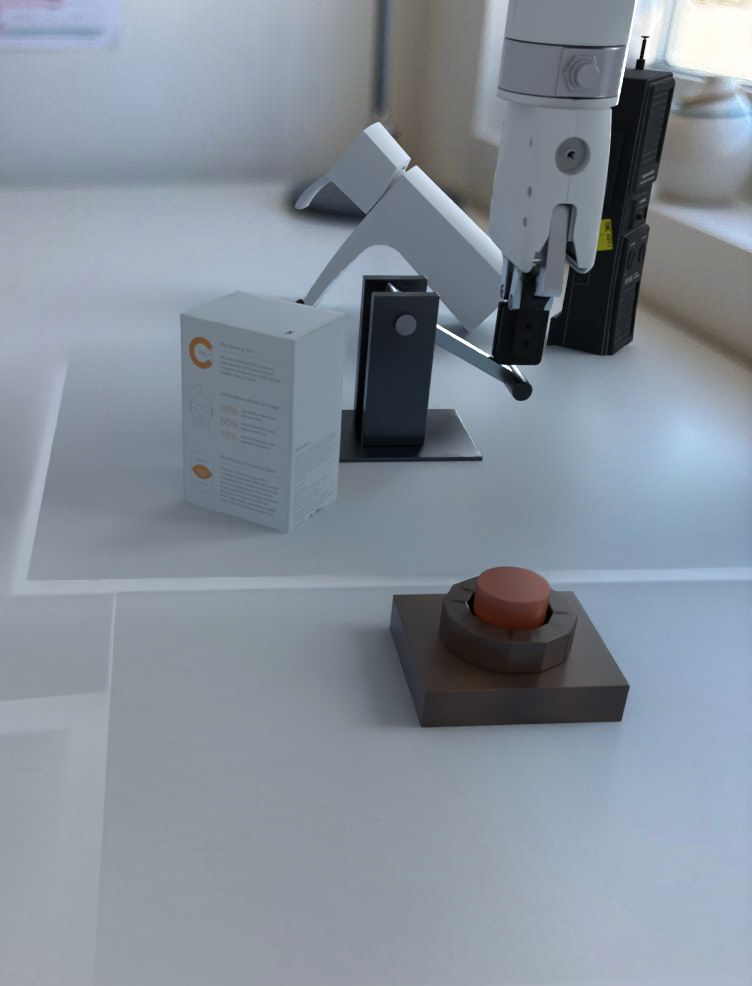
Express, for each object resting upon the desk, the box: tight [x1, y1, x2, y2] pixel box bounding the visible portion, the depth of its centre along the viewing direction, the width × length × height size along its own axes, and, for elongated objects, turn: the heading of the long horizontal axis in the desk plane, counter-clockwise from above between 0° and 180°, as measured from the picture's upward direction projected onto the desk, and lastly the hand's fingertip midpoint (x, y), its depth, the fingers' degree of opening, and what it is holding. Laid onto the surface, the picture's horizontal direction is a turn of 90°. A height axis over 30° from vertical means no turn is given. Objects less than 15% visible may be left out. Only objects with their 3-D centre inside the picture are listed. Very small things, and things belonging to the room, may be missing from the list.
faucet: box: [294, 121, 506, 334], centre depth 107 cm, size 6×16×20 cm
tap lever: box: [370, 283, 534, 402], centre depth 79 cm, size 12×5×2 cm, turn 95°
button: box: [473, 565, 552, 630], centre depth 56 cm, size 4×4×2 cm
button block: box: [389, 575, 631, 728], centre depth 58 cm, size 10×9×4 cm
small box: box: [179, 290, 348, 534], centre depth 70 cm, size 8×6×13 cm
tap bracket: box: [339, 274, 484, 464], centre depth 80 cm, size 12×9×12 cm
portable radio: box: [546, 35, 676, 357], centre depth 95 cm, size 8×6×25 cm
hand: (515, 360), depth 80 cm, fingers closed
